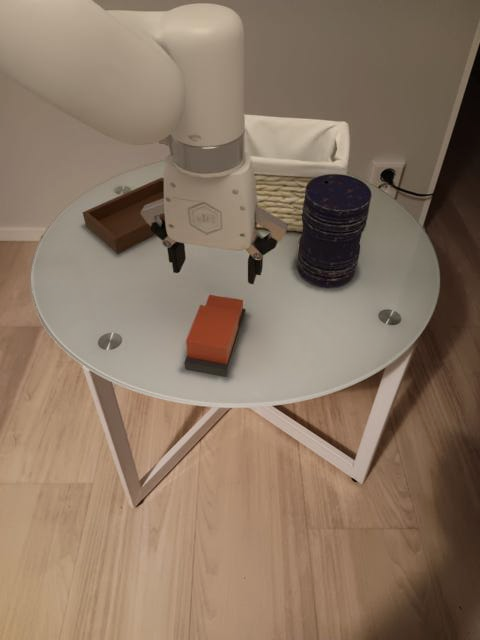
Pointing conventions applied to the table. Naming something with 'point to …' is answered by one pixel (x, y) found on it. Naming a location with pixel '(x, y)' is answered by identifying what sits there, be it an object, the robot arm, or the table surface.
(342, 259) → the storage jar
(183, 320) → the table surface
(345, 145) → the basket
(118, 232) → the tray
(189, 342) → the shoe
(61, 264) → the table surface
